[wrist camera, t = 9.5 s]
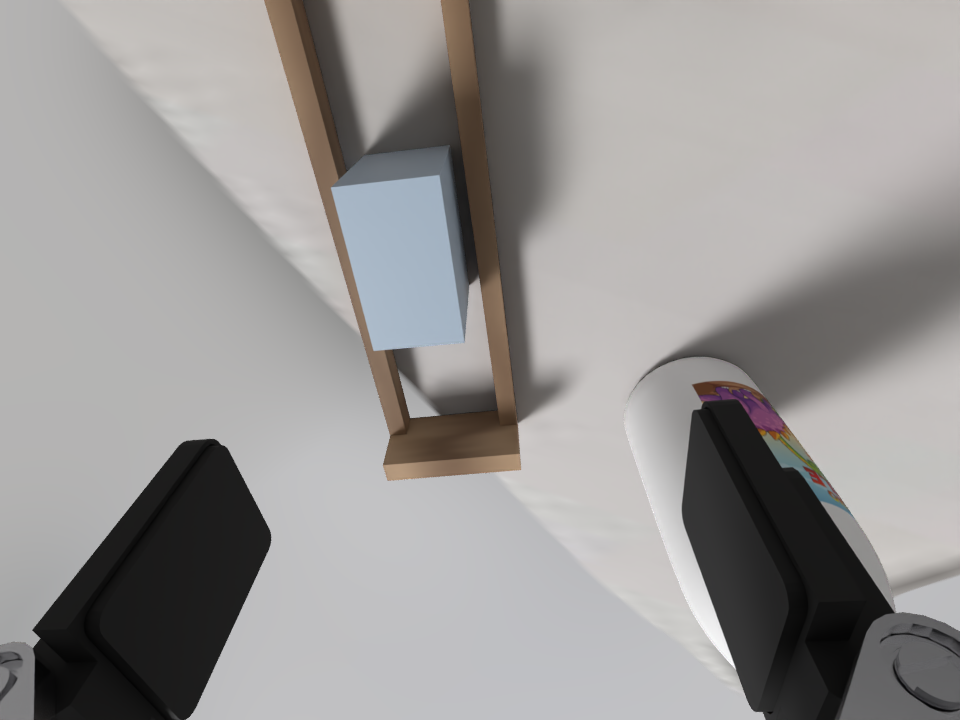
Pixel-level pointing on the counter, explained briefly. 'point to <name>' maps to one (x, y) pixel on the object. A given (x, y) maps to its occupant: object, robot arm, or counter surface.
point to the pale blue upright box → (406, 246)
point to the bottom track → (488, 434)
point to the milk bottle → (663, 455)
